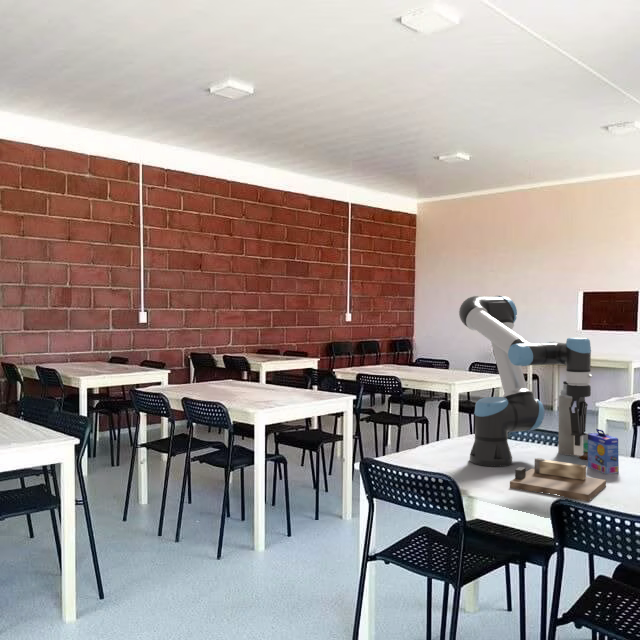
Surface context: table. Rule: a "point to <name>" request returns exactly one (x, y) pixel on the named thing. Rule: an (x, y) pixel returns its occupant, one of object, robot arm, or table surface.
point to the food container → (585, 447)
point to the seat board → (557, 484)
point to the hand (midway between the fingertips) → (578, 454)
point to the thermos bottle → (565, 424)
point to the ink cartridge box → (603, 453)
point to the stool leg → (560, 469)
